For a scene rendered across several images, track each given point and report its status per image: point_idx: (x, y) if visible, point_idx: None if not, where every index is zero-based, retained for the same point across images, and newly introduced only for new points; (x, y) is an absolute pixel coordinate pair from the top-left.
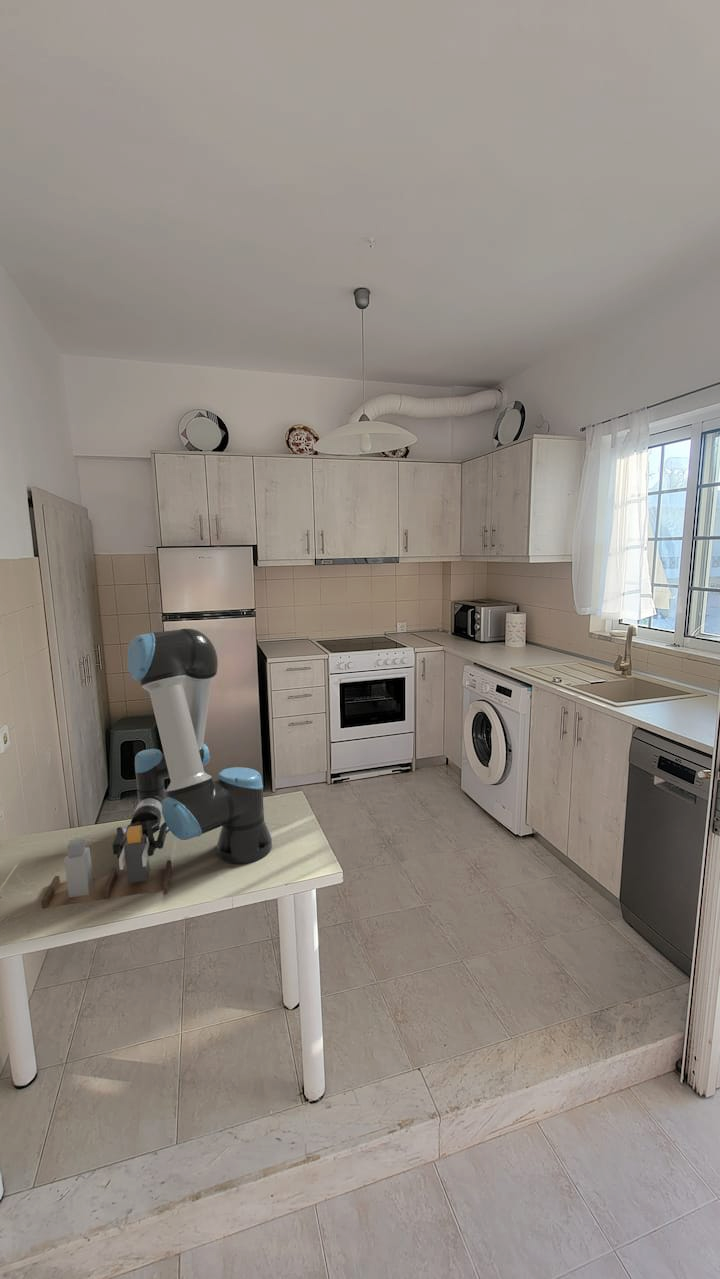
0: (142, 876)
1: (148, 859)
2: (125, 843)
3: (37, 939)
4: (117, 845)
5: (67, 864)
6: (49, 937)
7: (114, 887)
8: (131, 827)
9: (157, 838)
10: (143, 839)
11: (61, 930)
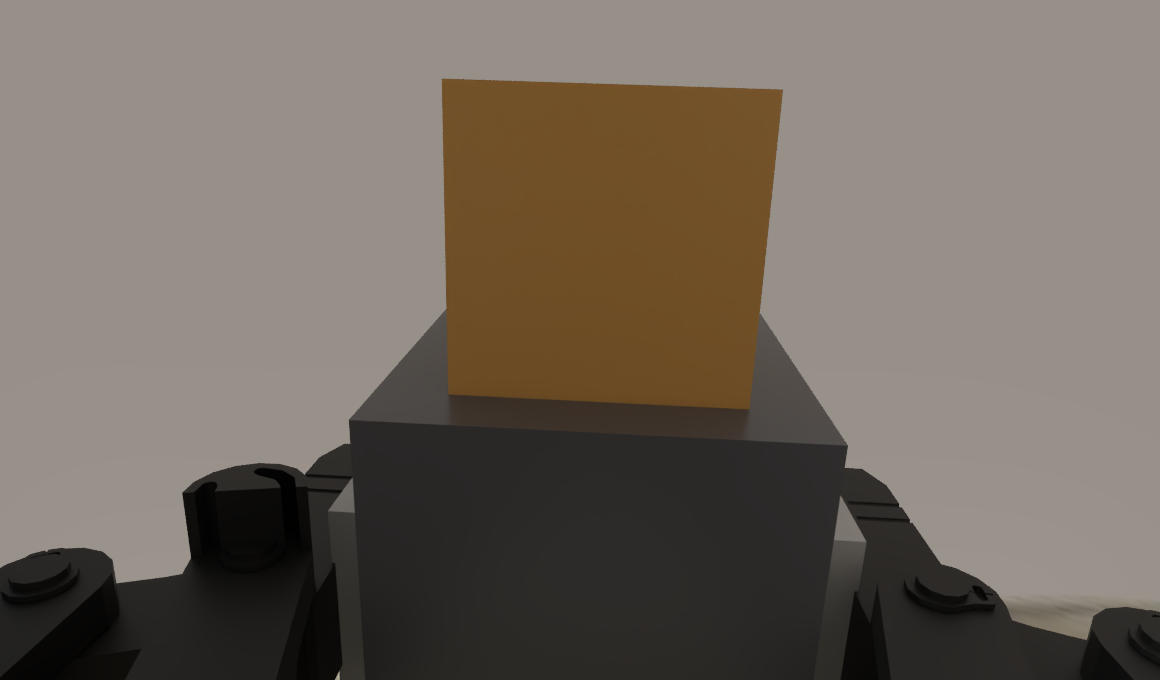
0: None
1: None
2: (764, 339)
3: (1151, 600)
4: (1089, 658)
5: None
6: (1079, 596)
7: None
8: (694, 89)
9: (73, 611)
10: (442, 338)
11: (1050, 627)
